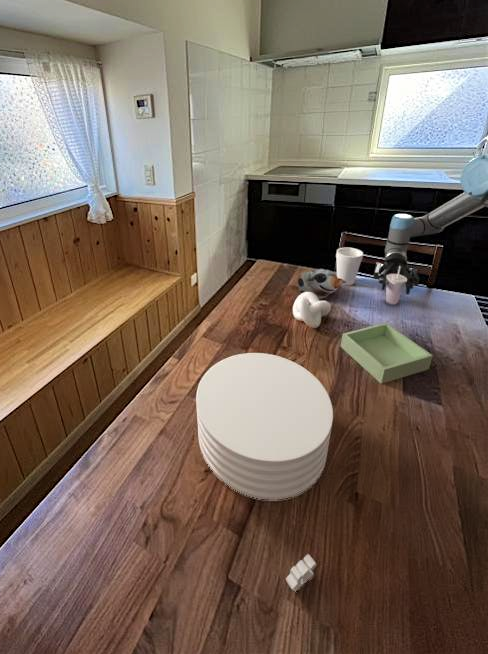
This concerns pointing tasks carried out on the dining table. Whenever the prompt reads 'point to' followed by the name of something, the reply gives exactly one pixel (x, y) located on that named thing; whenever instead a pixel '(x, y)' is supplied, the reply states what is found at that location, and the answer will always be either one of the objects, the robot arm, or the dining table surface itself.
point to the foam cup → (348, 263)
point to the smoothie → (394, 287)
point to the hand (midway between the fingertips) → (395, 288)
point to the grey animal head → (319, 282)
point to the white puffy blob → (310, 309)
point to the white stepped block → (301, 573)
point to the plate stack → (263, 425)
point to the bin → (385, 352)
